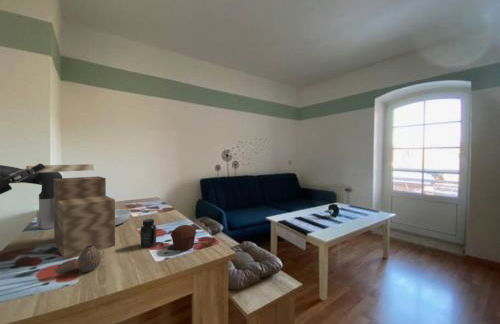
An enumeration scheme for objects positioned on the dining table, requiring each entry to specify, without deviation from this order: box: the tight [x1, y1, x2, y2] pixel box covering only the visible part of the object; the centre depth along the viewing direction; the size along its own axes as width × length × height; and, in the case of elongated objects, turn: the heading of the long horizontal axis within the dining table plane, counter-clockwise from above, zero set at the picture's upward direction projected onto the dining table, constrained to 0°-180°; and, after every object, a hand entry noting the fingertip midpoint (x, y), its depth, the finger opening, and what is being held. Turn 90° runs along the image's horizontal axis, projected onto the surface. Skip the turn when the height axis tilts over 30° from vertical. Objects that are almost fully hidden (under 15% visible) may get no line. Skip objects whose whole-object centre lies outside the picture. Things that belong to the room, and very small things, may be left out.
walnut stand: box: [53, 175, 116, 261], centre depth 97 cm, size 18×26×31 cm
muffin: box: [170, 224, 197, 252], centre depth 95 cm, size 12×11×10 cm
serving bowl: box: [115, 208, 132, 226], centre depth 125 cm, size 21×21×7 cm
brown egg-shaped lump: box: [76, 245, 102, 273], centre depth 76 cm, size 7×7×9 cm
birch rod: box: [25, 163, 95, 173], centre depth 96 cm, size 23×3×3 cm, turn 140°
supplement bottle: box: [139, 218, 157, 248], centre depth 97 cm, size 7×7×12 cm
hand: (42, 165), depth 90 cm, fingers closed on birch rod, 3 cm apart
